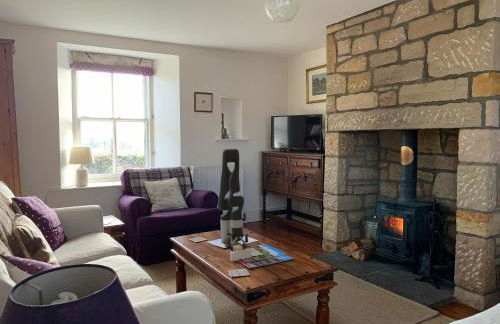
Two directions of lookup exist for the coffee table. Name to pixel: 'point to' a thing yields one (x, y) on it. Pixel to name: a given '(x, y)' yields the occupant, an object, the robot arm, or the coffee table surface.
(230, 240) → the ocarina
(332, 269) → the coffee table surface
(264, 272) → the coffee table surface
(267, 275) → the coffee table surface
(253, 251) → the mat
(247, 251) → the cream rectangular block
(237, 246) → the marked cube
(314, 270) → the coffee table surface
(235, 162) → the robot arm
